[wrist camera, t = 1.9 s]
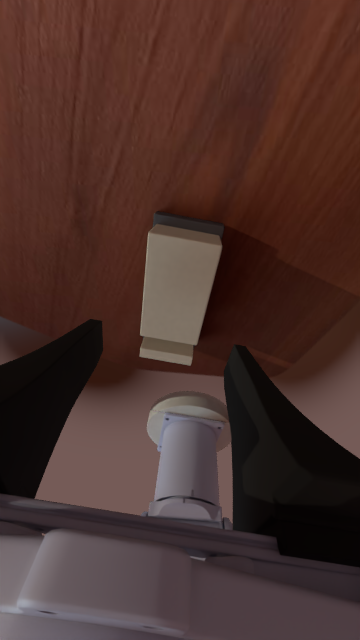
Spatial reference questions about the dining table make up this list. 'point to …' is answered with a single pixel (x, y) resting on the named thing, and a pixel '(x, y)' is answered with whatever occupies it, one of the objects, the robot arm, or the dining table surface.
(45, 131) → the dining table surface
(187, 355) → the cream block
